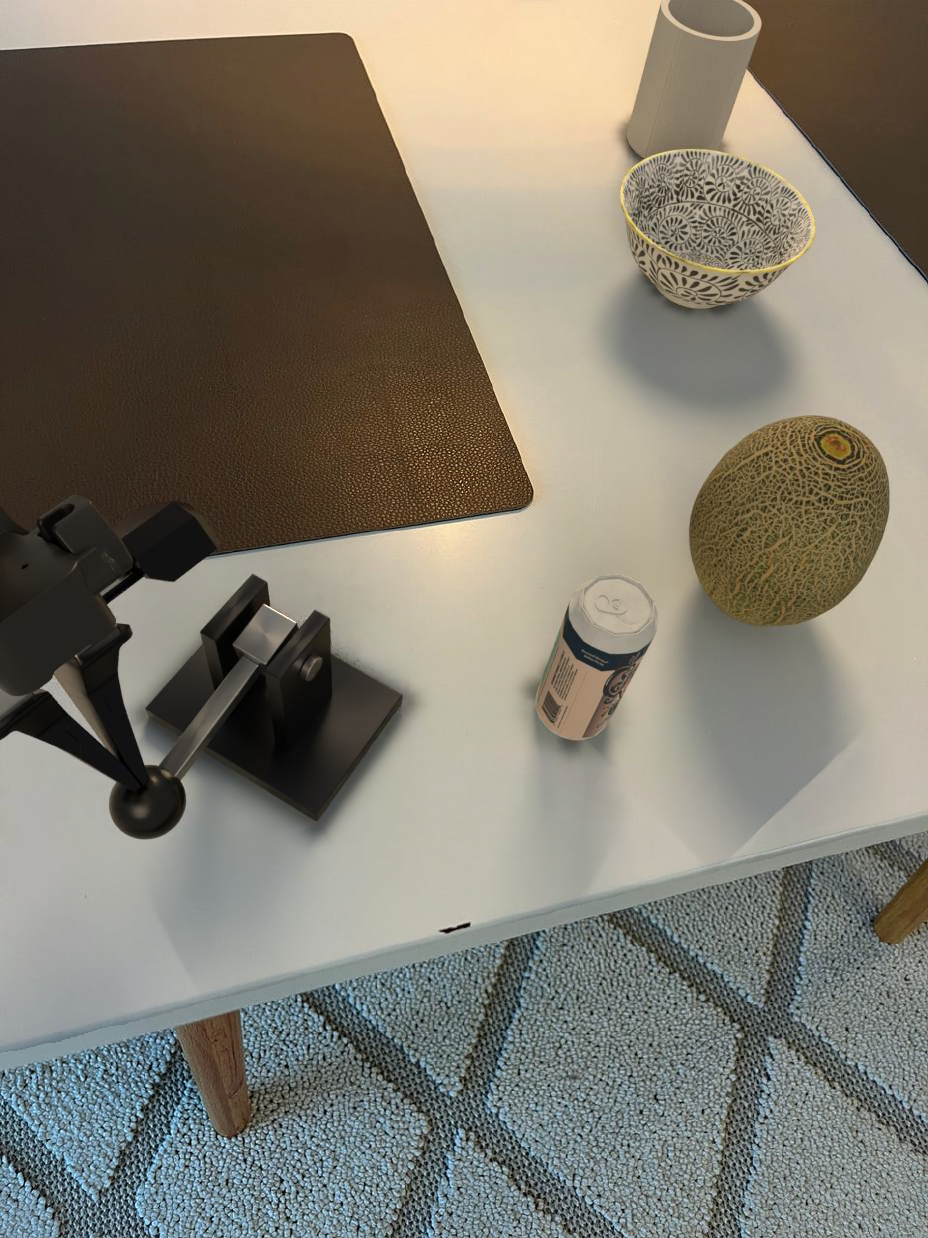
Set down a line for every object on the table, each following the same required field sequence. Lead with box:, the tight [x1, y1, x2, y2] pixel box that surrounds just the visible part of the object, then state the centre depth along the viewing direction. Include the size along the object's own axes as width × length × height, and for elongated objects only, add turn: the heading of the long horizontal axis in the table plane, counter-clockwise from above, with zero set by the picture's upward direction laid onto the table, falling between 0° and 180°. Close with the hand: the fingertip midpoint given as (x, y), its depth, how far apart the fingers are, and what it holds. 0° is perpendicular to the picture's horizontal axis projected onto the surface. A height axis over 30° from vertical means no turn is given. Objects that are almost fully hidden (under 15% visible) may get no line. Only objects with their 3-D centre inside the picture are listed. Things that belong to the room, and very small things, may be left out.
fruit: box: [688, 414, 891, 627], centre depth 59 cm, size 11×11×15 cm
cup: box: [626, 0, 763, 160], centre depth 89 cm, size 9×9×12 cm
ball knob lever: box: [108, 604, 300, 841], centre depth 48 cm, size 13×4×4 cm, turn 150°
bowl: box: [619, 149, 816, 310], centre depth 79 cm, size 16×16×8 cm
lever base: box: [144, 573, 403, 823], centre depth 53 cm, size 9×12×10 cm
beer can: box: [534, 573, 659, 741], centre depth 54 cm, size 5×5×12 cm
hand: (139, 785), depth 45 cm, fingers closed
